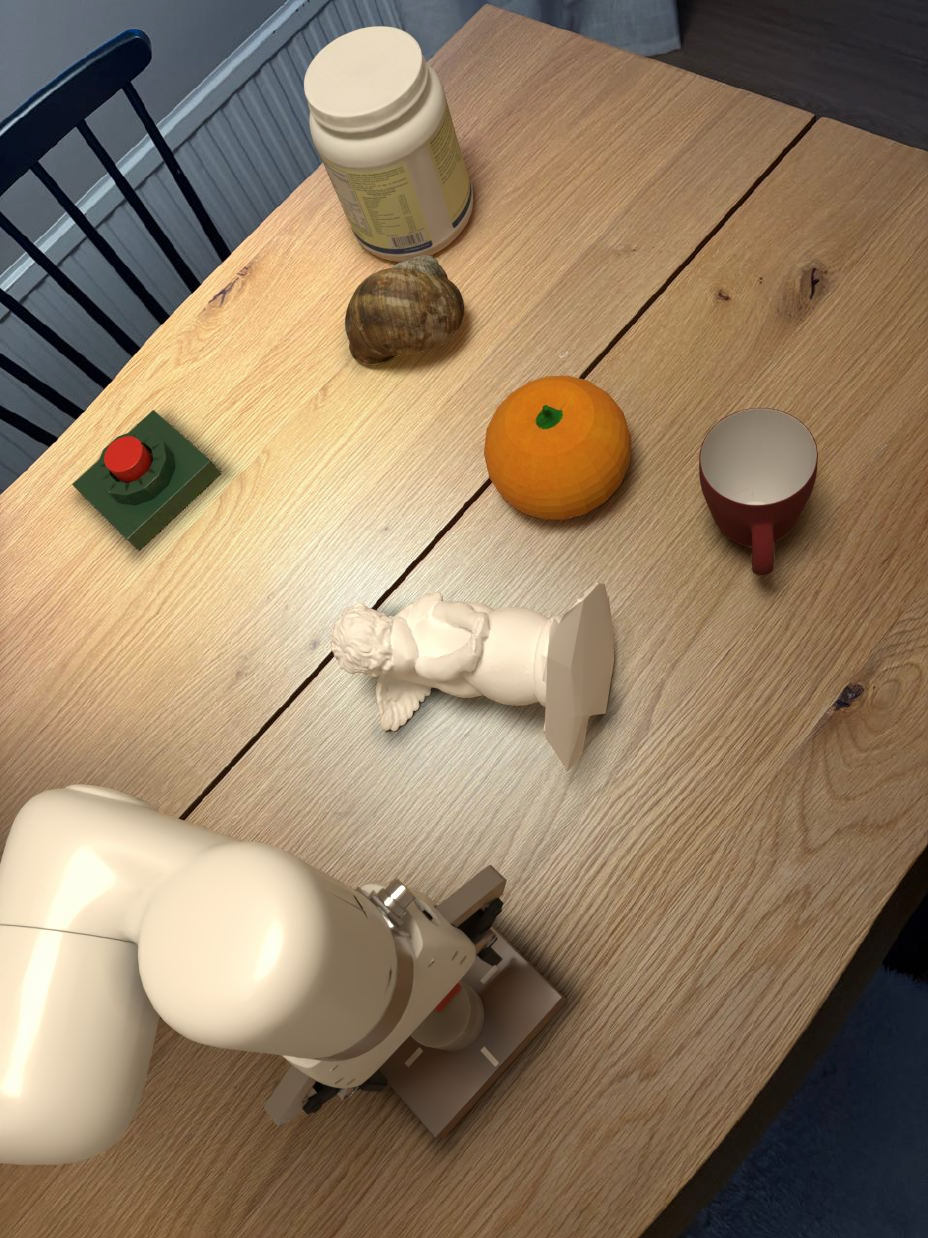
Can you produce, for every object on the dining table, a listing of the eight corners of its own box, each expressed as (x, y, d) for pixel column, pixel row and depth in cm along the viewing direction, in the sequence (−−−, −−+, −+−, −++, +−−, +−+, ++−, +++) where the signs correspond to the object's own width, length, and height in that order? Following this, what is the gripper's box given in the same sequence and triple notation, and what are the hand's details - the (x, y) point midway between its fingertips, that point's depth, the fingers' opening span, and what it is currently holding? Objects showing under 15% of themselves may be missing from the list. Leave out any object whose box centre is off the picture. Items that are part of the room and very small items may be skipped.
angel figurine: (382, 697, 91) (369, 554, 88) (616, 721, 84) (614, 567, 80) (298, 766, 80) (279, 605, 76) (562, 803, 72) (556, 626, 68)
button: (129, 489, 96) (119, 479, 94) (106, 467, 97) (96, 457, 96) (159, 461, 96) (150, 450, 95) (136, 439, 98) (126, 429, 96)
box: (139, 551, 97) (116, 529, 94) (84, 496, 101) (60, 473, 97) (221, 473, 99) (202, 449, 95) (164, 422, 102) (143, 397, 99)
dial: (451, 1066, 72) (434, 1063, 67) (406, 1016, 74) (386, 1010, 69) (498, 1015, 72) (483, 1009, 68) (452, 967, 74) (435, 958, 70)
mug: (828, 588, 82) (840, 524, 73) (719, 608, 83) (718, 548, 74) (795, 469, 86) (803, 395, 77) (692, 490, 88) (688, 420, 79)
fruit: (658, 499, 88) (650, 430, 79) (523, 557, 88) (500, 495, 80) (601, 391, 93) (587, 315, 84) (474, 447, 94) (447, 378, 85)
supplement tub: (425, 150, 109) (376, -4, 94) (502, 210, 104) (463, 57, 89) (330, 224, 108) (265, 80, 93) (403, 289, 103) (346, 147, 88)
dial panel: (444, 1138, 72) (434, 1139, 70) (356, 1036, 76) (344, 1033, 74) (568, 1000, 74) (562, 997, 72) (475, 907, 78) (467, 901, 76)
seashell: (482, 298, 100) (463, 236, 93) (456, 384, 97) (434, 326, 90) (369, 290, 103) (342, 230, 96) (340, 372, 100) (310, 316, 93)
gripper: (407, 783, 53) (482, 856, 69) (146, 1055, 51) (284, 1068, 66) (516, 889, 50) (569, 942, 65) (243, 1186, 48) (364, 1168, 63)
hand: (425, 1005), depth 66 cm, fingers open, 9 cm apart
